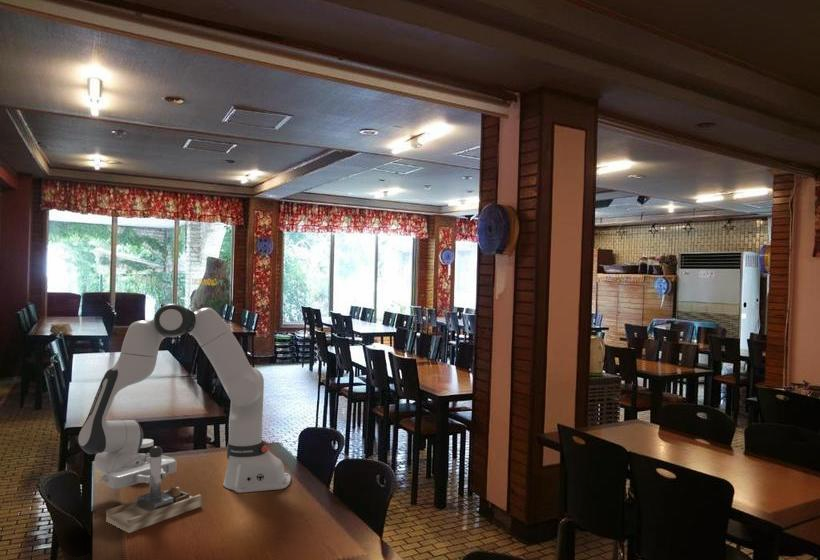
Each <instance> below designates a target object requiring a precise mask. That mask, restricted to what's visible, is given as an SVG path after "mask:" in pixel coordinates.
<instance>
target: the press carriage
mask: <svg viewBox="0 0 820 560" xmlns="http://www.w3.org/2000/svg"><path fill="white" fill-rule="evenodd" d="M153 446H154V445H153ZM149 455H150V476H152V477H153V479H152V480H153V481H152V482H150V483H149V492H148V493H145V494H142V495H139V496H137V497H136V500H137V506H138V507H140V508H142V509H145V510H147V511H149V512H150V511H153V510H156V509H159V508H162V507H165V506H167V505H170V504H173V497H171V495H170V494H167V493H164V492H163V491H162V479H161V455H163V448H162V447H161V446H159V445H155V446H154V447H152V448H151V449H150V451H149Z"/></svg>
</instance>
